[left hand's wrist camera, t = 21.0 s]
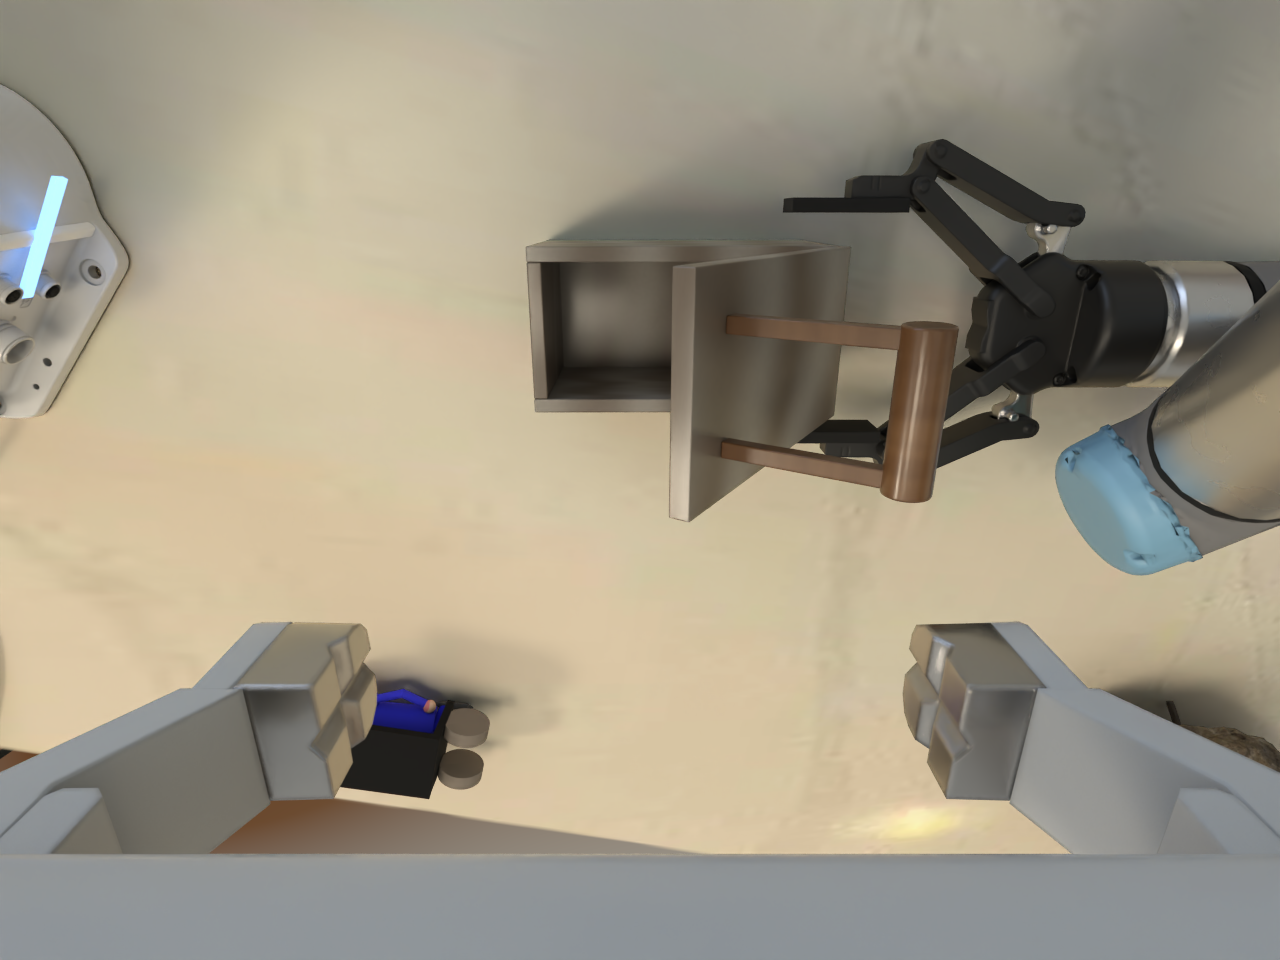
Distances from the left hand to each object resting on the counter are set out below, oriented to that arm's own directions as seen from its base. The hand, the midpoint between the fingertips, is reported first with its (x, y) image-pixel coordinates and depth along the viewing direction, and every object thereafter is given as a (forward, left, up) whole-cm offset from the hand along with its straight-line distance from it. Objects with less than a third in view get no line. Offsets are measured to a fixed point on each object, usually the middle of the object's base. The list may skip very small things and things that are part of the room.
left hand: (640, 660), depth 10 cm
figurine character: (-39, +1, -41) cm, 57 cm away
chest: (+1, -2, -41) cm, 41 cm away
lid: (+3, -5, -23) cm, 24 cm away
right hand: (+4, -7, -34) cm, 35 cm away
